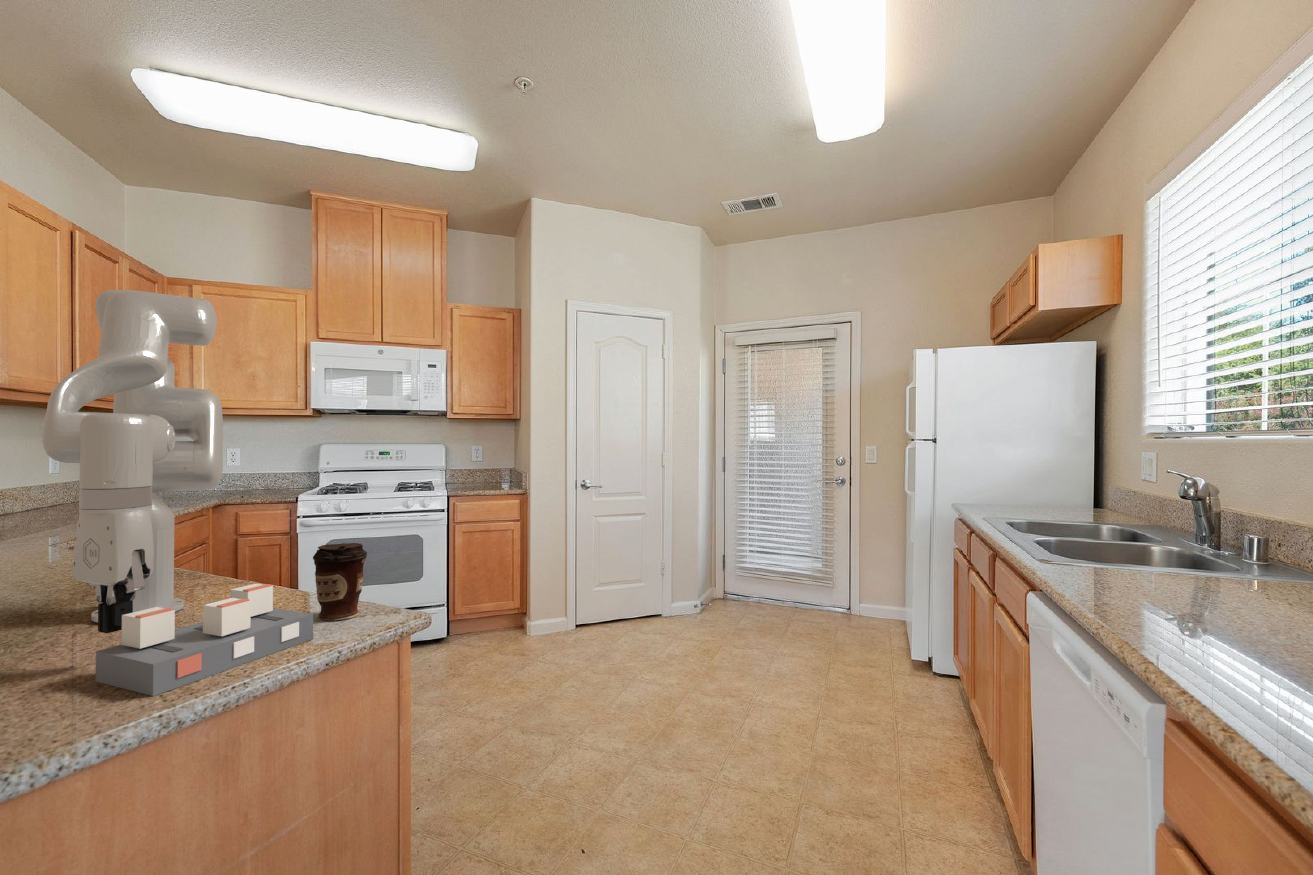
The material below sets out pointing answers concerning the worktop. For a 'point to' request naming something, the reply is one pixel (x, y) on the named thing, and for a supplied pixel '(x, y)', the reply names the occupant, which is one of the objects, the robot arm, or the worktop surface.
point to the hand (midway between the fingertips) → (115, 629)
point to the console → (200, 653)
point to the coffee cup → (339, 579)
